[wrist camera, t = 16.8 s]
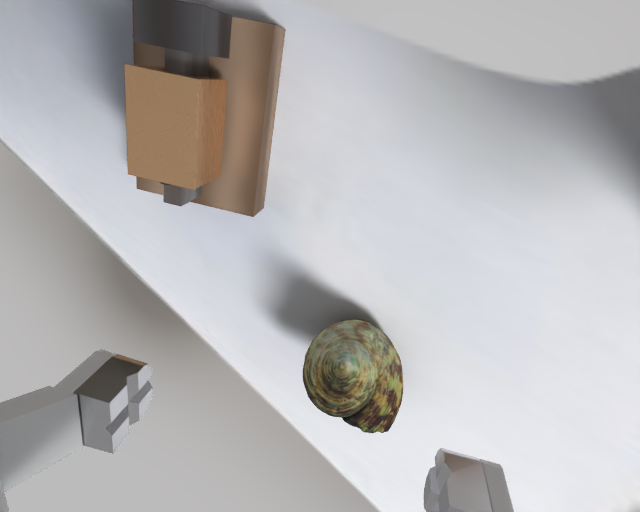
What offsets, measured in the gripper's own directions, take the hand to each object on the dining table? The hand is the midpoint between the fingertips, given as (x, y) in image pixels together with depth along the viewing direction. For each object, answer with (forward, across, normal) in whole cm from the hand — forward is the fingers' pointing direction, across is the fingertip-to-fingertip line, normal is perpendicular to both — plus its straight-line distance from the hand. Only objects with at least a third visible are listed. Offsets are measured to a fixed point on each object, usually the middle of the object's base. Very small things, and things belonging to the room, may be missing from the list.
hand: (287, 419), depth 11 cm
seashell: (+29, -3, +19) cm, 35 cm away
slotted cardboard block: (+25, +16, -2) cm, 30 cm away
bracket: (+29, +16, -3) cm, 33 cm away
